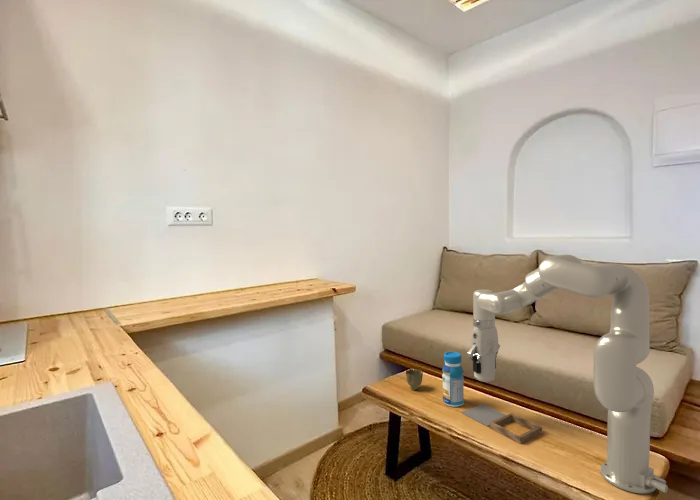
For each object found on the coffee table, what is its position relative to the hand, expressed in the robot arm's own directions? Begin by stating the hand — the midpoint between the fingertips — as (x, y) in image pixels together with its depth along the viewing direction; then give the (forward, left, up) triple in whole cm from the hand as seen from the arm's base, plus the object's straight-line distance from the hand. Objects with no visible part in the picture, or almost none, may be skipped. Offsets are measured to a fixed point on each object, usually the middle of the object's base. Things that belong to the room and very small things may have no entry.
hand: (484, 369), depth 144 cm
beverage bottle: (+14, +2, -18) cm, 23 cm away
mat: (0, 0, -17) cm, 17 cm away
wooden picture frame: (-13, 0, -17) cm, 22 cm away
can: (0, 0, -4) cm, 4 cm away
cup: (+33, +6, -18) cm, 38 cm away
